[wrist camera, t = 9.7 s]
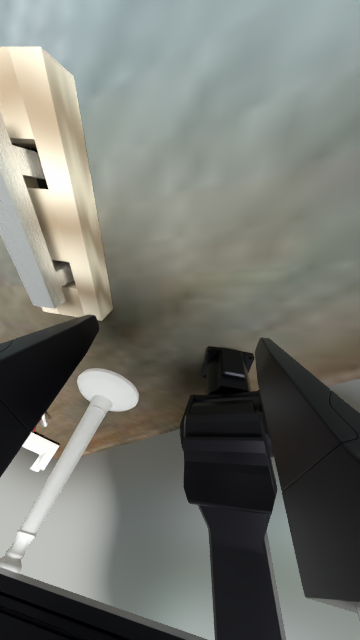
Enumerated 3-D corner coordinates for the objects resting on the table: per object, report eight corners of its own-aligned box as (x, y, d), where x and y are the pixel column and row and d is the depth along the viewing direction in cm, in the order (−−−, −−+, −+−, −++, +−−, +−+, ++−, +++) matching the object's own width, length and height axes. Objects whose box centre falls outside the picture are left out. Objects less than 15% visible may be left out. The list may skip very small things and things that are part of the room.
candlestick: (78, 359, 32) (-381, 880, 7) (144, 382, 32) (-80, 943, 8) (80, 395, 39) (-147, 717, 15) (134, 413, 40) (2, 755, 15)
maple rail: (113, 308, 24) (101, 320, 22) (60, 300, 25) (43, 311, 22) (74, 76, 13) (40, 46, 10) (-21, 75, 14) (-72, 47, 11)
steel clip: (90, 285, 23) (54, 308, 18) (73, 283, 23) (33, 305, 18) (53, 131, 15) (-30, 95, 10) (27, 130, 15) (-65, 94, 10)
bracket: (61, 442, 60) (43, 470, 54) (54, 446, 64) (37, 472, 58) (25, 424, 57) (2, 452, 50) (20, 429, 60) (-3, 455, 54)
